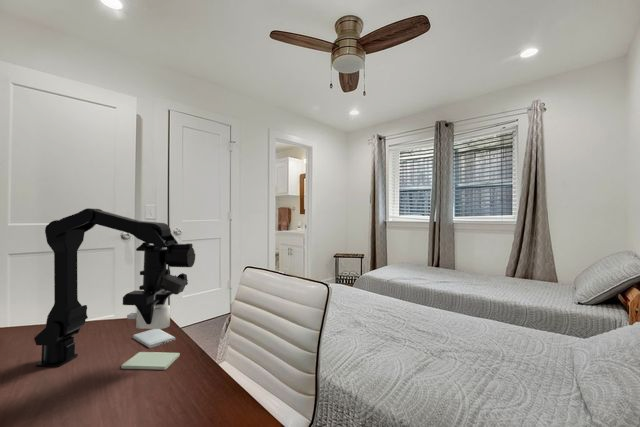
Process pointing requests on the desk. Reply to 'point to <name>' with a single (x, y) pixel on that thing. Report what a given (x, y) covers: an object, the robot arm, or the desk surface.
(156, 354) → the sage mat
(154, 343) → the hard drive
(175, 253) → the robot arm
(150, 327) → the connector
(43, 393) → the desk surface
